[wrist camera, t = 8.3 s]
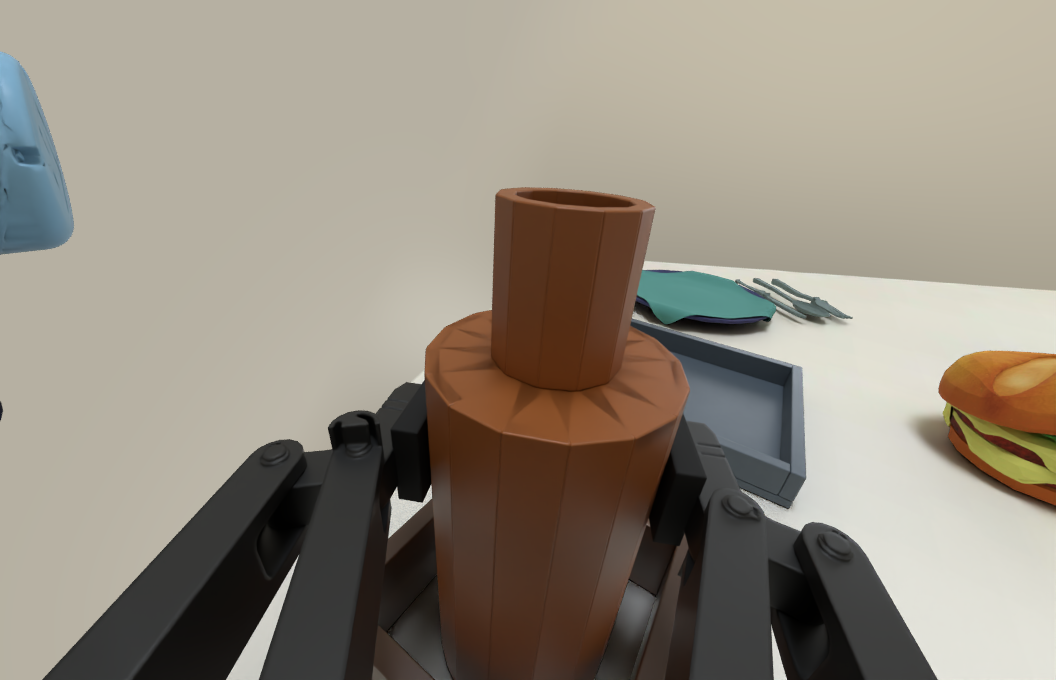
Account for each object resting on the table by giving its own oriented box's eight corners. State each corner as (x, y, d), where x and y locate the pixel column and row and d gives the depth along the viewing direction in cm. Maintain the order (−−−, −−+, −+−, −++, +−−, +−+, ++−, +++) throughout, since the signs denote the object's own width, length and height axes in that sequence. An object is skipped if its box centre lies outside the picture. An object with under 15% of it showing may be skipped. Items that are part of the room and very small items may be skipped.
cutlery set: (600, 279, 61) (602, 265, 60) (768, 283, 65) (773, 270, 64) (650, 335, 43) (655, 316, 42) (876, 336, 47) (885, 319, 46)
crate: (334, 662, 15) (315, 603, 13) (498, 485, 23) (501, 434, 21) (581, 941, 10) (606, 913, 8) (677, 591, 18) (701, 537, 16)
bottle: (406, 641, 15) (338, 185, 7) (505, 519, 20) (528, 177, 12) (553, 783, 12) (711, 256, 4) (626, 597, 17) (757, 206, 9)
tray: (519, 391, 32) (521, 364, 30) (594, 329, 44) (598, 308, 42) (789, 509, 23) (806, 478, 22) (791, 391, 35) (802, 367, 33)
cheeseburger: (1207, 573, 21) (1304, 413, 17) (926, 497, 28) (959, 372, 24) (1124, 469, 28) (1183, 341, 24) (917, 429, 34) (941, 325, 31)
